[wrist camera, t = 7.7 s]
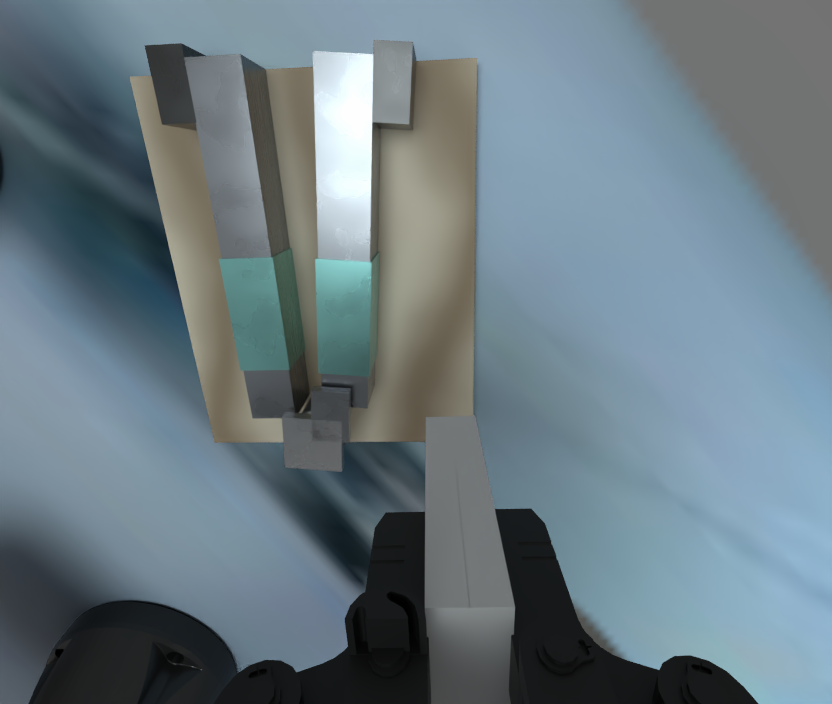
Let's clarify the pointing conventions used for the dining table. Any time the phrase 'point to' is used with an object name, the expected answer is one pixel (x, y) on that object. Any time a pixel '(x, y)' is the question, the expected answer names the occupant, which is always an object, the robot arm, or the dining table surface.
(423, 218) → the board
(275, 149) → the teal-banded grey bar
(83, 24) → the dining table surface
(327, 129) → the tongs arm
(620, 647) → the dining table surface
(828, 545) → the dining table surface
